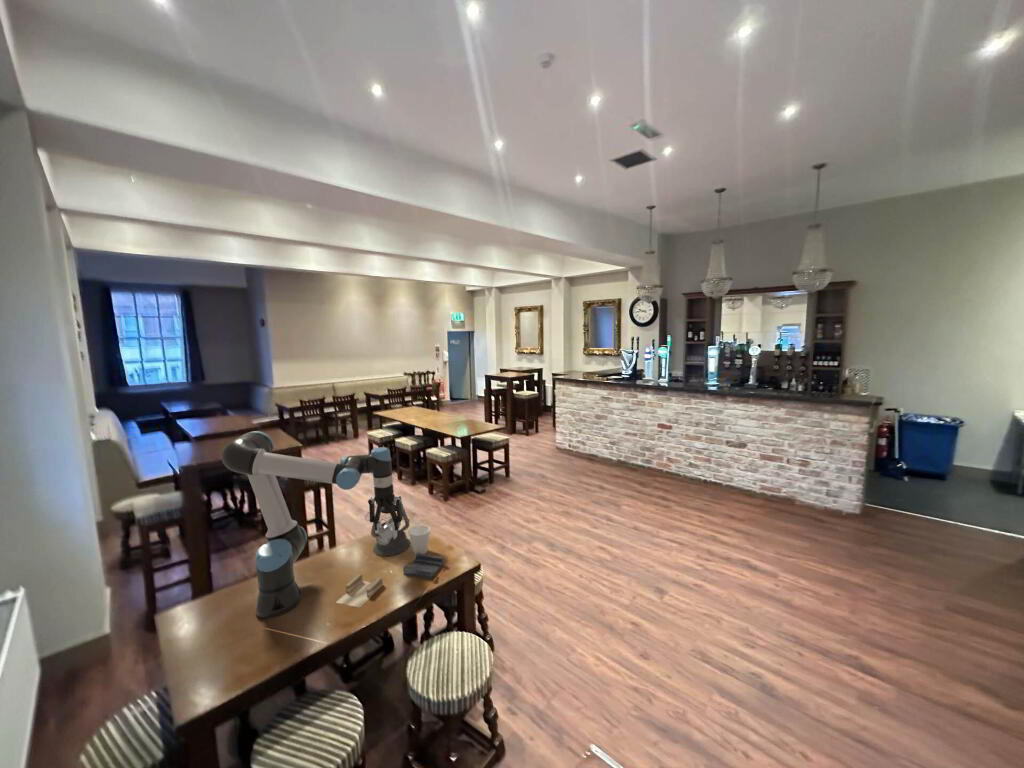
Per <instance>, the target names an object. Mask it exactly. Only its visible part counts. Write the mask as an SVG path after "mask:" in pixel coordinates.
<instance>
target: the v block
mask: <svg viewBox="0 0 1024 768" xmlns="http://www.w3.org/2000/svg"><path fill="white" fill-rule="evenodd" d="M414 556H415V557H414V559H412V562H411V564H410V565H404V566H403V567H402V570H403V571H402V572H403V575H404V576H409V577H410V576H411V577H417V578H422V579H427V580H432V579H433V578H434V577H435V576H436V574H437V573H438V572H439V571H440V569H441V568H443V567H444V566H445V557H444V556H439V555H433V554H426V553H425V554H420V553H417V554H416V555H415V554H414Z"/></svg>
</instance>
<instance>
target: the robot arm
mask: <svg viewBox="0 0 1024 768" xmlns="http://www.w3.org/2000/svg"><path fill="white" fill-rule="evenodd" d="M274 445H275V444H274V441H273V439H272V438H271V436H270V435H269V434H267V433H265V432H263V431H260V430H255V431H250V432H246V433H243V434H242V435H241V436H238V437H237V438H235V439H234V440H232V441H230V442H228V443H227V444H226V445H225V446H224V448H223V449H222V452H221V461H222V464H223V465H224V466H225V468H227V470H230V471H232V472H235V473H237V474H242V475H246V476H247V478H248V480H249V483H250V485H251V489H252V492H253V493H254V496H255V498H256V502H257V504H258V506H259V508H260V511H261V515H262V518H263V519H264V522H265V526H266V527H267V532H266V533H265V538H266V541H267V543H263V545H261V546H260V547H259V548H258V549H257V551H256V552H255V558H254V565H255V570H256V577H257V584H258V585H257V587H258V595H257V599H256V600H257V601H256V602H255V605H254V607H255V608H254V609H255V615H256V616H257V617H258V618H260V619H265V620H266V619H270V618H271V619H272V618H276V617H280V616H282V615H285V614H287V613H289V612H291V611H292V610H294V609H296V608H297V606H299V605H300V603H301V601H302V600H303V599H302V591H301V589H300V587H299V586H298V583H297V582H296V580H295V571H294V564H295V563H296V561H297V559H298V558H299V556H300V555H301V553H302V552H303V550H304V549H305V546H306V545H307V541H308V534H307V532H306V529H304V527H303V526H300V525H299V524H298V521H297V520H294V519H292V517H291V514H290V511H289V508H288V506H287V503H286V500H285V498H284V496H283V495H284V494H283V493H282V489H281V487H280V485H279V482H278V481H279V480H278V478H277V477H283V478H291V479H297V480H304V481H311V482H319V483H326V484H332V485H337V486H338V487H339V488H340V489H341V490H344V491H348V490H352V489H353V488H355V487H356V485H357V484H358V483H360V482H359V481H360V480H361V477H362V475H364V474H371V473H372V477H373V479H372V480H373V486H374V487H373V490H374V497H371V498H369V499H368V500H367V503H368V505H369V520H370V521H369V523H372V524H373V523H374V524H375V530H376V531H377V534H378V532H379V531H380V530H381V529H382V527H381V524H382V521H379V520H381V516H380V515H381V514H382V512H381V510H382V507H387V509H388V510H389V512H390V513H389V515H390V516H391V517H390V518H392V519H393V522H394V523H393V524H392V527H393V539H395V538H396V537H397V530H400V528H399V523H402V521H403V516H402V510H401V502H402V497H401V498H395V497H396V496H394V495H395V493H394V492H393V491H394V484H393V483H394V481H393V470H392V457H391V451H390V449H389V448H388V447H385V446H383V447H380V446H379V447H375V448H373V449H372V450H371V451H370V454H369V453H368V454H360V455H347V456H342V457H341V458H340V459H339V461H340V462H339V463H337V462H331V461H325V460H318V459H313V458H304V457H300V456H299V457H298V456H293V455H287V454H286V455H285V454H279V453H272V452H273V449H274ZM393 501H395V504H394V505H396V512H395V509H394V507H393V503H392V502H393ZM376 503H377V504H378V506H377V504H376ZM375 504H376V505H375ZM376 506H377V507H376ZM376 509H377V512H376ZM375 513H376V516H375ZM396 513H397V514H396ZM376 531H375V532H376Z"/></svg>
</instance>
